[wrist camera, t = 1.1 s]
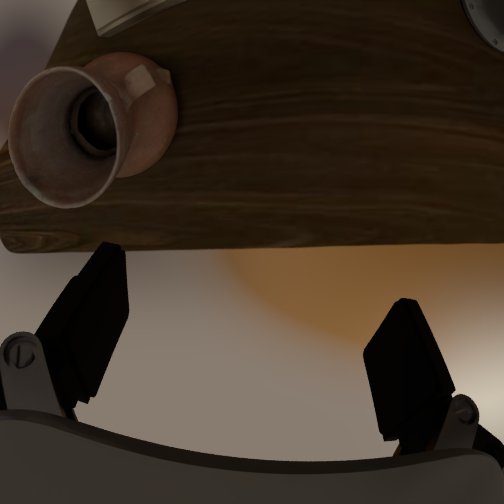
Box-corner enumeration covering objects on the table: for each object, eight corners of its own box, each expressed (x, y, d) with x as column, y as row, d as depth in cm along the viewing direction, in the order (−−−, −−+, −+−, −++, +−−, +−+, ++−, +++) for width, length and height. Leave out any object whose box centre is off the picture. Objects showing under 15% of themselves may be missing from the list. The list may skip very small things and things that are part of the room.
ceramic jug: (157, 23, 25) (89, 3, 13) (218, 126, 32) (183, 162, 20) (51, 110, 30) (-27, 141, 18) (103, 195, 37) (43, 254, 25)
